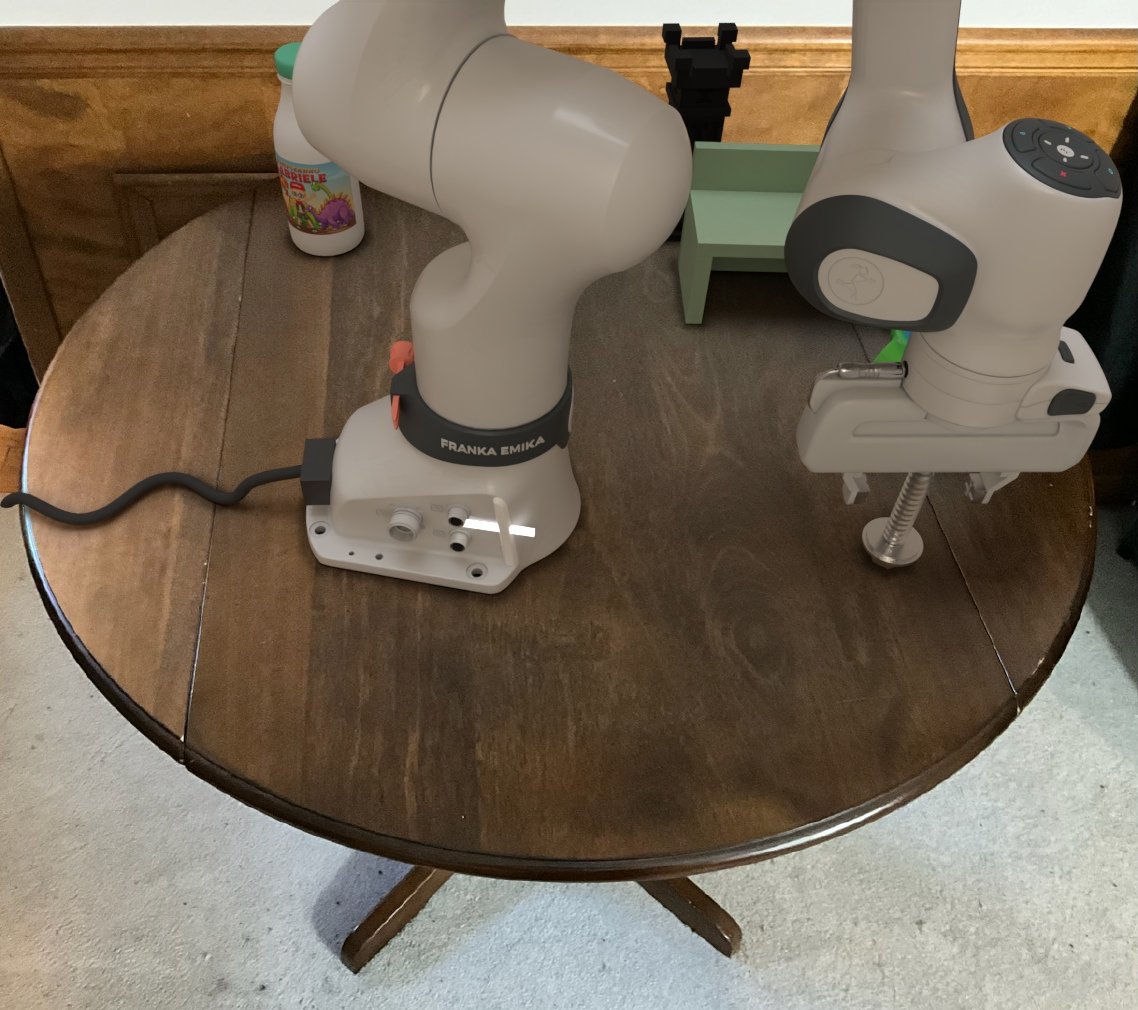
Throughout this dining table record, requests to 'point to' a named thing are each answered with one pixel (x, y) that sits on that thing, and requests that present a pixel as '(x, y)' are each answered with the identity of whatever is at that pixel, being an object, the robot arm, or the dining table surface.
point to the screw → (899, 526)
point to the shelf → (739, 212)
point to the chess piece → (702, 83)
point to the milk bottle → (312, 180)
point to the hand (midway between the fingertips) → (913, 497)
